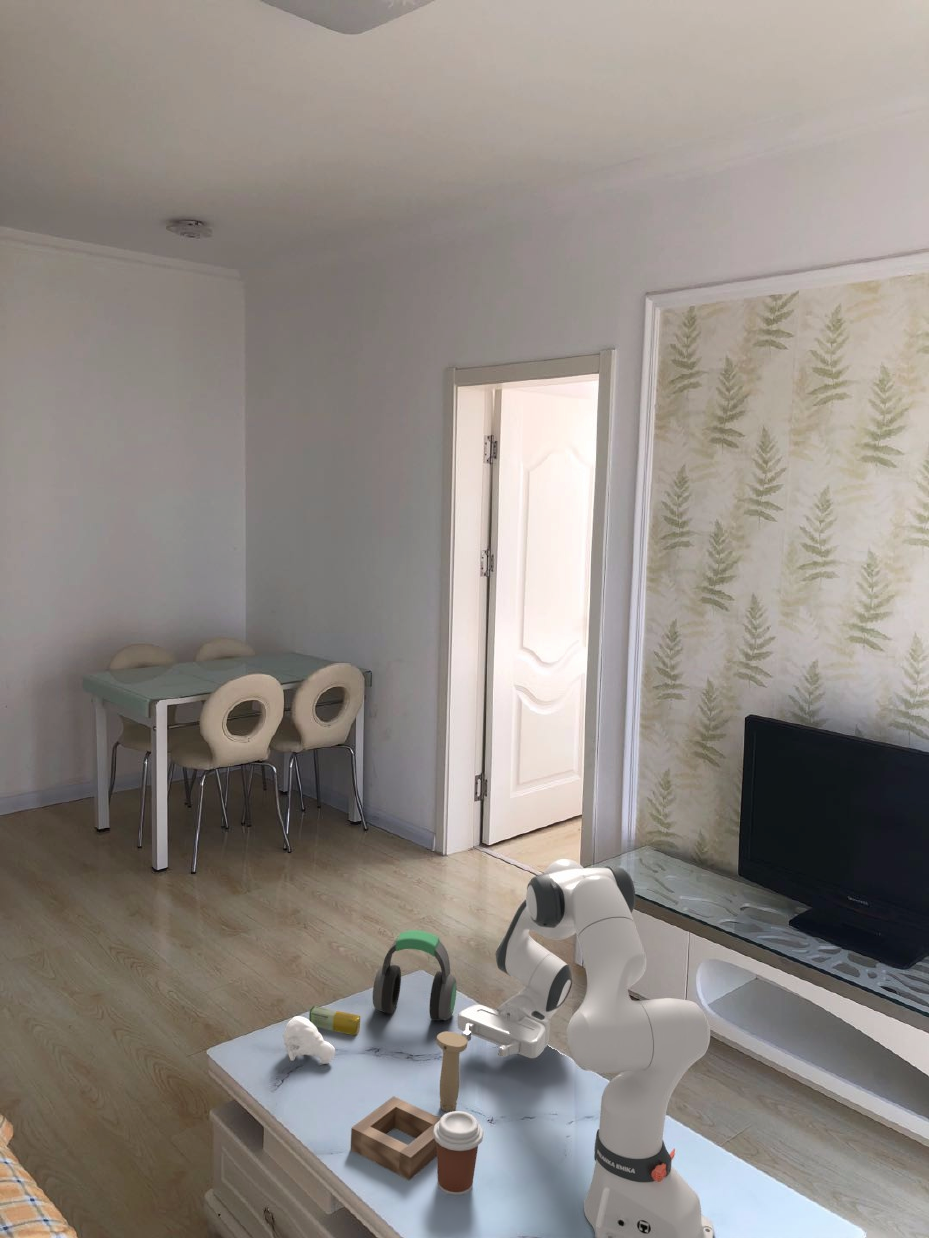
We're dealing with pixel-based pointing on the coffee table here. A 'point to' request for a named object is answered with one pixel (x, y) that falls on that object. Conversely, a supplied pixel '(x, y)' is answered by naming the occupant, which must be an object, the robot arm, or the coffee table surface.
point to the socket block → (389, 1151)
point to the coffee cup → (457, 1151)
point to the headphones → (390, 976)
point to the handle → (450, 1068)
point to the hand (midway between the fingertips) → (482, 1045)
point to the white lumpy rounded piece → (306, 1040)
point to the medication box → (335, 1020)
